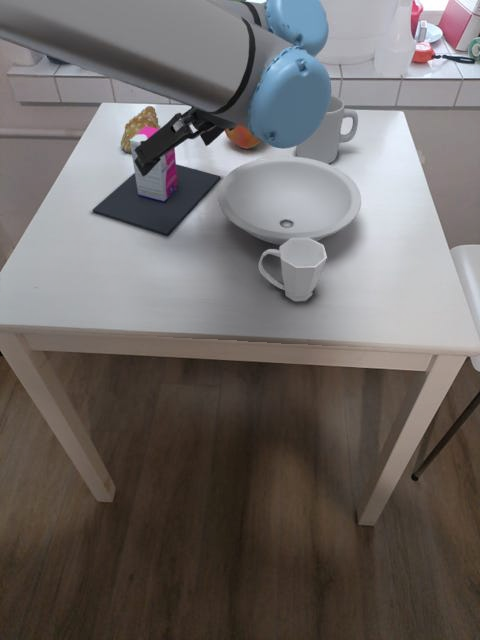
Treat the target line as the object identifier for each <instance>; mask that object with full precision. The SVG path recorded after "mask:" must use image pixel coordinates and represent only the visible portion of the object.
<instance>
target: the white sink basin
mask: <svg viewBox="0 0 480 640" xmlns="http://www.w3.org/2000/svg"><path fill="white" fill-rule="evenodd" d="M217 201H218V205H219V208H220V210H221V211H222V213H223V214H224V215H225V217H226V218H227V219H228V220H229V221H230V222H231V223H233V224H234V225H235V226H237V227H238V228H240V229H241V230H244V231H245V232H246V233H248V234H250V235H251V236H253V237H254V238H257V239H258V240H260V241H262V242H266V243H269V244H272V245H273V244H274V245H279V246H281V245H283V244H284V243H285V242H287V241H288V240H289V239H290V238H311V239H313V240H315V241H317V242H319V241H321V240H322V239H325V238H326V237H328V236H331V235H333V234H336V233H338V232H340V231H342V230H343V229H345V228H347V226H349V225H350V224H351V223H352V222H353V221H354V220H355V219H356V217H357V216H358V214H359V213H360V209H361V206H362V195H361V191H360V189H359V187H358V185H357V183H355V181H354V179H352V178H351V177H350V176H349V175H348V174H347V173H345V172H344V171H342V170H341V169H339V168H337V167H335V166H334V165H332V164H330V163H329V164H326V163H324V162H321V161H317V160H313V159H309V158H302V157H297V156H291V155H290V156H289V155H288V156H287V155H286V156H285V155H283V156H282V155H281V156H269V157H263V158H258V159H256V160H251V161H247V162H246V163H244V164H242V165H240V166H238V167H236V168H235V169H233V170H232V171H230V172H229V173H228V174H227V175H226V176H225V177H224V178H223V179H222V181H221V183H220V185H219V187H218V190H217ZM283 221H289V222H291V223H292V226H290V227H285V226H282V225H281V223H282V222H283Z"/></svg>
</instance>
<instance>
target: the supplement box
mask: <svg viewBox="0 0 480 640" xmlns="http://www.w3.org/2000/svg"><path fill="white" fill-rule="evenodd" d="M158 130H159V129H156V128H152V127H148V126H145V127H144V128H143V129H142V130H141V131H140V132H139V133H137V134H136V135H135V136H134V137H133V138H132V139H131V140H130V145H131V151H132V153H131V157H132V163H133V170H134V173H135V177H136V183H137V190H138V197H141V198H145V199H149V200H154V201H157V202H161V203H165V202H166V200H167V199H168V198H169V197H170V196H171V194H172V193H173V192H174V191H175V190H176V189H177V188H178V182H177V171H176V164H177V161H176V149H175V148H176V147H175V148H174V149H172V150H171V151H169V152H168V153H166V154H165V155H163V156H162V157H160V159H161V160H160V161H159V162H158V163H157V164H156V165H155V166H154V167H153V169H152V170H151V171H150V172H149V173H148V174H147V175H145V176H142V174H141V172H140V171H139V169H138V167H137V166H136V164H135V162H134V161H135V159H136V158H137V157H138V156H137V154H136V152H135V149H136V147H138V146H139V145H141V144H140V142H141V141H146V140H147V139H148V138H149V137H151V136H152V135H153V134H154V133H155V132H157V131H158Z"/></svg>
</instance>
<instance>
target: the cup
mask: <svg viewBox="0 0 480 640" xmlns="http://www.w3.org/2000/svg"><path fill="white" fill-rule="evenodd" d="M267 255H272V256H275V257H278V258H280V266H281V274H282V281H283V284H282V283H280V282H279V281H278V280H276V279H275V278H274V277H273V276H271V275H270V274H269V273H267V271H266V270H265V269H264V267H263V259H264V257H266V256H267ZM327 260H328V256H327V252H326V248H325V245H324V244H322V243H321V242H319V241H315V240H313V239H311V238H290V239H289V240H288V241H287V242H285V243H284V244H283V245H279V249H276V248H268V249H266V250H265V251H263V252H262V254H261V256H260V259H259V260H258V266H257V267H258V271H259V272H260V274H261V275H262V276H263V278H265V279H266V280H267V281H268V282H270V283H271V284H272V285H273V286H274V287H277V288H278V289H280V290H281V291H282V290H283V291H284V293H285V297H286V298H288V299H290V300H291V301H293V302H306V301H307V300H308V299H309V298H310V297H312V296H313V291H314V289H315V288H316V286H317V284H318V282H319V280H320V278H321V275H322V272H323V269H324V267H325V264H326V262H327Z"/></svg>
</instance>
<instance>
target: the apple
mask: <svg viewBox="0 0 480 640" xmlns="http://www.w3.org/2000/svg"><path fill="white" fill-rule="evenodd" d="M224 133H225V135H226V137H227V138H228V140H229V141H230V142H232V143H233V144H235V146H238V147H240V148H242V149H245V150H246V149H247V150H249V149H252V148H254V147H256V146H257V145H258V144H260V142H261V141H262V140H259V139H257V138H255V137H254V136H253V135H252V133H251V132H250V131H249V130H248V129H247V128H245V127H243V126H241V125H239V126H237V127H236V128H235V129H233V130H232V131H229V129H226V130H225V131H224Z"/></svg>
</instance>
